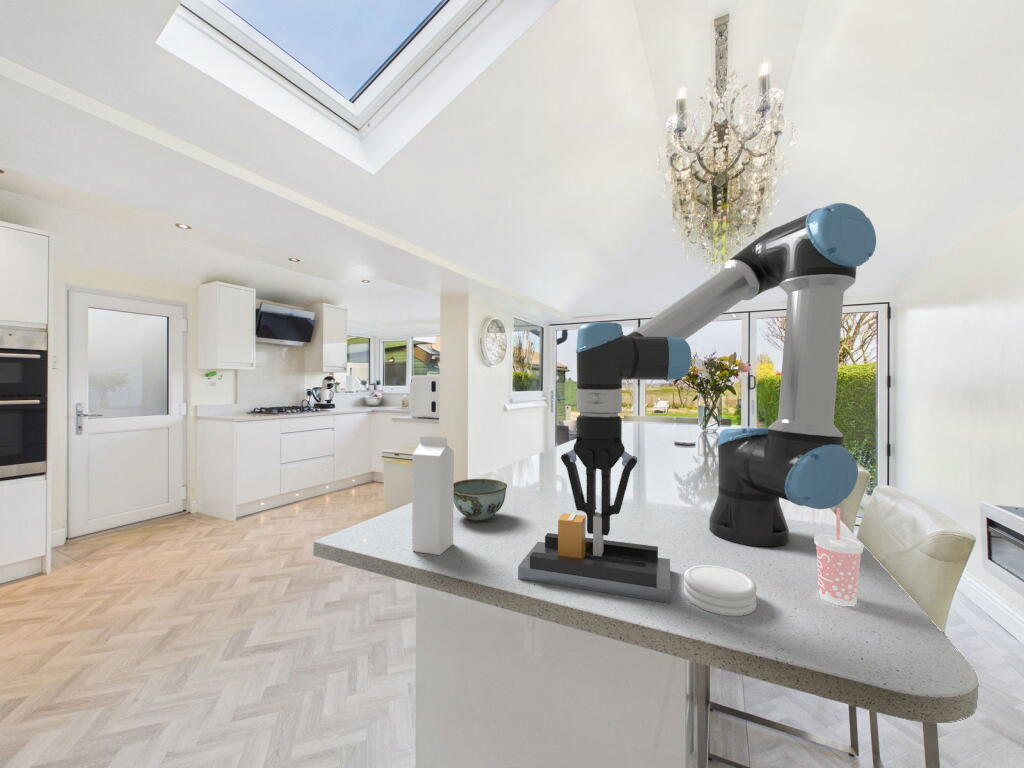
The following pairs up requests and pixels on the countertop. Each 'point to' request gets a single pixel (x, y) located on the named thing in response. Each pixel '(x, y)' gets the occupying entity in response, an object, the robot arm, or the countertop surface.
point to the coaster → (720, 590)
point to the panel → (600, 583)
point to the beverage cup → (838, 566)
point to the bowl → (479, 498)
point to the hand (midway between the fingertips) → (598, 552)
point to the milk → (432, 496)
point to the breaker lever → (571, 535)
